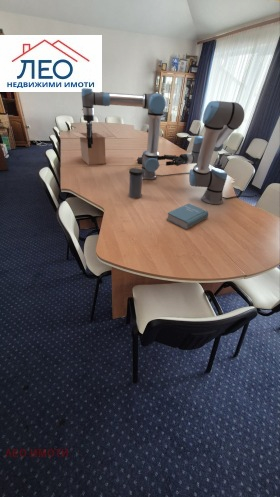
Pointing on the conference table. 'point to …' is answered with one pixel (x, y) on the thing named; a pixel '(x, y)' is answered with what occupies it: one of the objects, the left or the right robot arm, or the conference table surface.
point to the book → (187, 216)
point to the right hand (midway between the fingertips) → (161, 160)
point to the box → (93, 147)
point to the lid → (136, 171)
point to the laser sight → (140, 159)
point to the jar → (135, 186)
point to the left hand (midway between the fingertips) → (90, 146)
